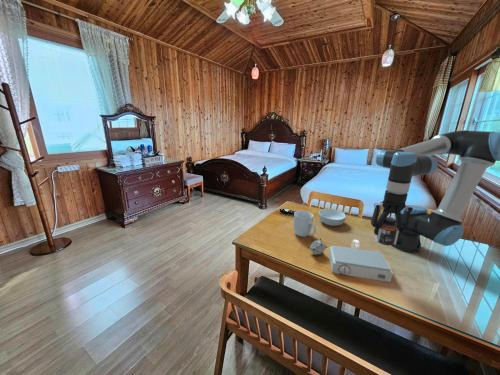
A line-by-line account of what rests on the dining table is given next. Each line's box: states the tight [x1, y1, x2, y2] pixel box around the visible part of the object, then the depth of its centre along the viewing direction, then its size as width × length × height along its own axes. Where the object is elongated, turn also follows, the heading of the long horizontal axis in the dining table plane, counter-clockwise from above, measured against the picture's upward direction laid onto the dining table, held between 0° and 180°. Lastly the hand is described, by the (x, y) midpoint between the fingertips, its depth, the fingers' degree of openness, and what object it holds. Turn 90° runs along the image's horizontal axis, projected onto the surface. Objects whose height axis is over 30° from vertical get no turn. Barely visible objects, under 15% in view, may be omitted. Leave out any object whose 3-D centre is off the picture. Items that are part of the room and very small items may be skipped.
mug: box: [293, 210, 317, 238], centre depth 128 cm, size 15×11×13 cm
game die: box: [307, 238, 328, 257], centre depth 111 cm, size 9×8×10 cm
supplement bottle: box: [378, 216, 397, 247], centre depth 93 cm, size 6×6×11 cm
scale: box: [328, 244, 394, 283], centre depth 102 cm, size 24×15×6 cm, turn 77°
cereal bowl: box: [318, 208, 347, 227], centre depth 145 cm, size 17×17×7 cm
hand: (384, 241), depth 94 cm, fingers closed on supplement bottle, 6 cm apart
